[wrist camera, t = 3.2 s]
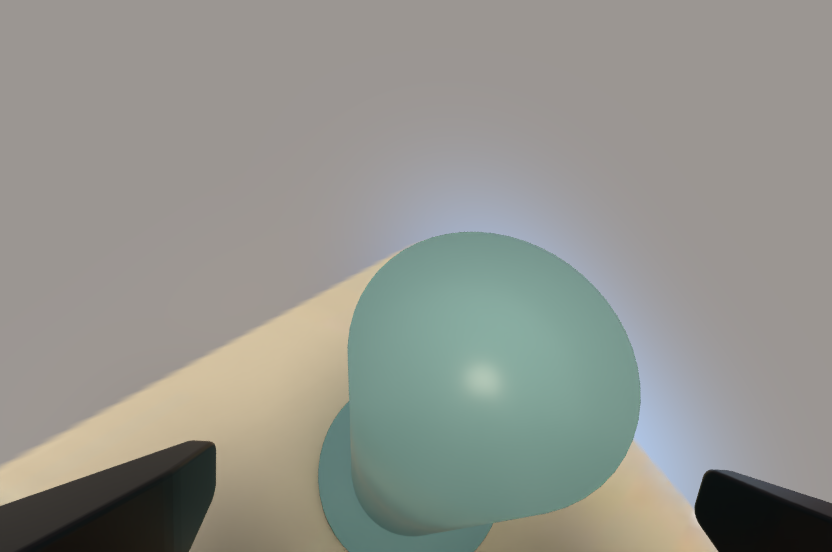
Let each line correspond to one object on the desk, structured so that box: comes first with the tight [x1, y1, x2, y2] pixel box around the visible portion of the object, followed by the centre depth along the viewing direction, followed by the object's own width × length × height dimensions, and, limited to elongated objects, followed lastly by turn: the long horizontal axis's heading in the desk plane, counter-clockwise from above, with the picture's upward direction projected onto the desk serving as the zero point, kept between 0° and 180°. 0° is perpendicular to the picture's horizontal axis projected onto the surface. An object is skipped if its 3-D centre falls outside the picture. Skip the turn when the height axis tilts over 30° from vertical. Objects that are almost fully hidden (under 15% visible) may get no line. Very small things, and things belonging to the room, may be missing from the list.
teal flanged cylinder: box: [318, 232, 640, 552], centre depth 12 cm, size 7×7×12 cm
